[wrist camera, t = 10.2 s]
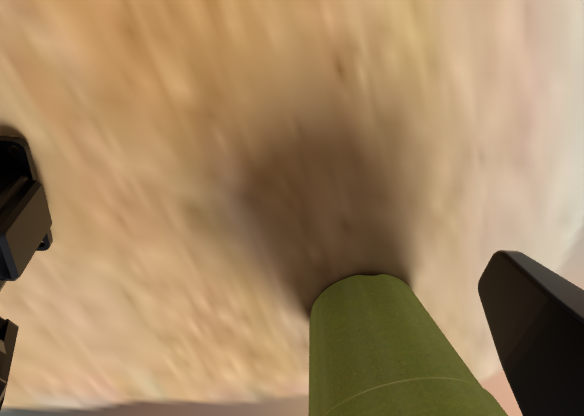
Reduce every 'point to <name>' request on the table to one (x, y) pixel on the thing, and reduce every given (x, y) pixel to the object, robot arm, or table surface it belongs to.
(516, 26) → the table surface
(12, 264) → the robot arm
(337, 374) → the plant pot
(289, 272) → the table surface
